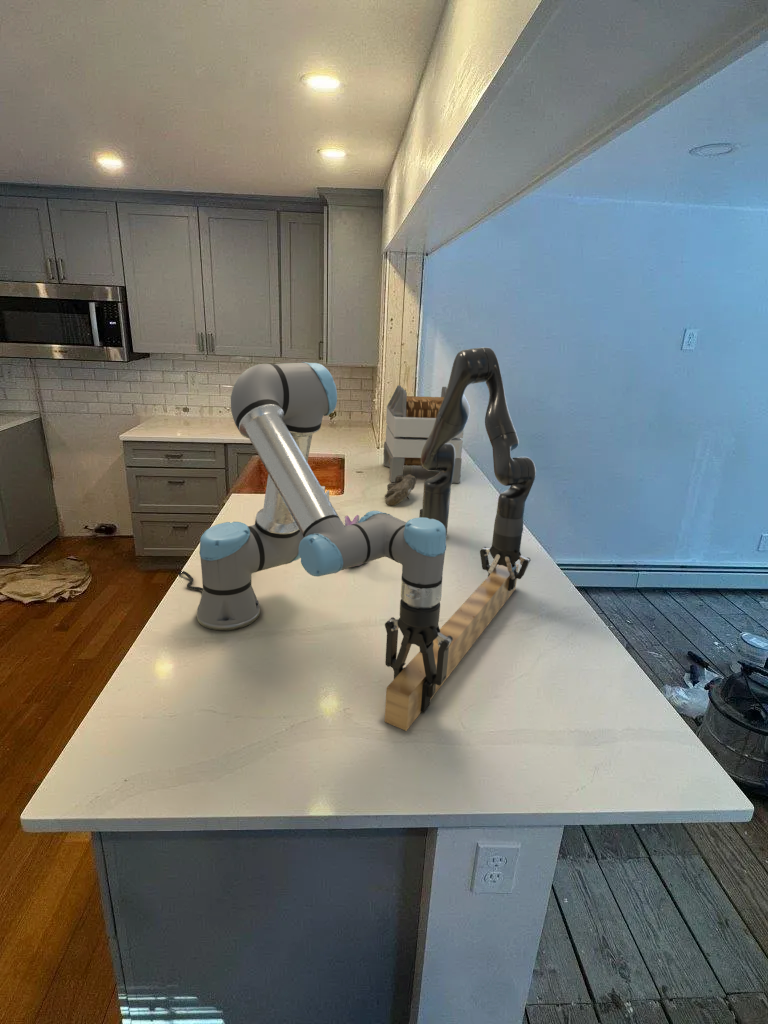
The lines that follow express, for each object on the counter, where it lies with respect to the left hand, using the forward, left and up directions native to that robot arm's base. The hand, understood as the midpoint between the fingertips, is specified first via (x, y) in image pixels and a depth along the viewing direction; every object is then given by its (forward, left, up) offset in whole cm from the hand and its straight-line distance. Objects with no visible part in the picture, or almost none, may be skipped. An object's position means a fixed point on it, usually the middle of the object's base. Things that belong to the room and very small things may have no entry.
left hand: (412, 702), depth 114 cm
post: (-3, +27, -1) cm, 27 cm away
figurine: (-51, +46, -1) cm, 68 cm away
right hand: (-6, +54, +3) cm, 54 cm away
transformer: (-90, +146, -1) cm, 171 cm away
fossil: (-75, +107, -1) cm, 130 cm away
